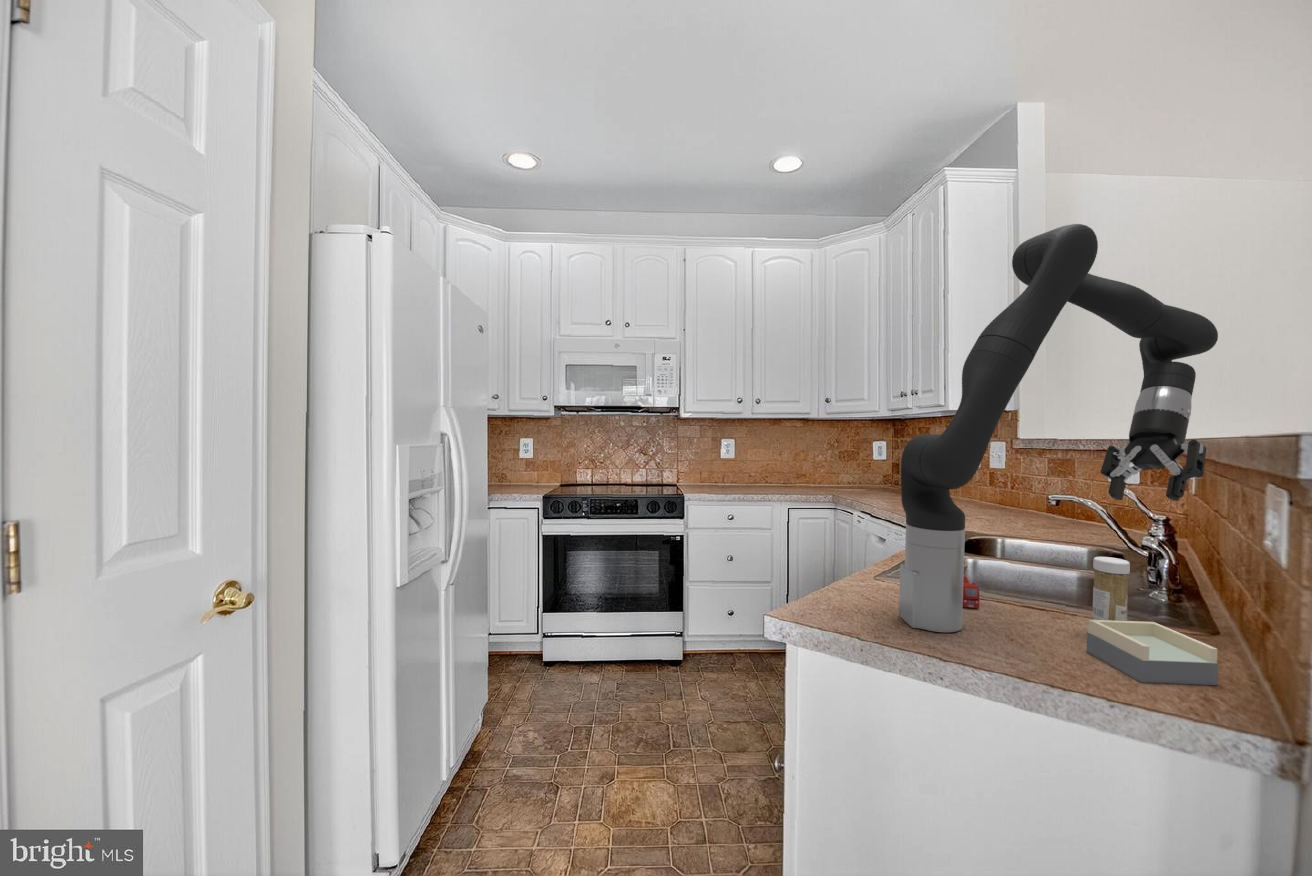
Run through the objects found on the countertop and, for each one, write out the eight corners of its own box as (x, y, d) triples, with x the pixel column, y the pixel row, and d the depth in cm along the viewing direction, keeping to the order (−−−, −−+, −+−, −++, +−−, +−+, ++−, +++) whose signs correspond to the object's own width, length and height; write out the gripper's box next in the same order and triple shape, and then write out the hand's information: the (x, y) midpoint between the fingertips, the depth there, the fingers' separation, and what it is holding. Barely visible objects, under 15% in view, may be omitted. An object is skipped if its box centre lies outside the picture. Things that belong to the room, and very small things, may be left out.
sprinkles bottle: (1132, 647, 86) (1135, 563, 85) (1096, 643, 87) (1099, 560, 87) (1119, 637, 90) (1122, 557, 90) (1086, 633, 92) (1089, 554, 91)
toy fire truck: (962, 609, 103) (963, 558, 103) (939, 587, 116) (940, 543, 116) (981, 610, 102) (983, 559, 102) (956, 589, 116) (957, 544, 115)
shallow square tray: (1140, 682, 74) (1141, 645, 74) (1086, 651, 84) (1087, 619, 84) (1217, 685, 73) (1219, 648, 73) (1154, 653, 83) (1155, 621, 83)
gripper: (1103, 413, 104) (1085, 490, 101) (1196, 401, 91) (1178, 489, 87) (1129, 430, 106) (1112, 506, 102) (1224, 421, 92) (1208, 508, 89)
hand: (1143, 498), depth 95 cm, fingers open, 8 cm apart
